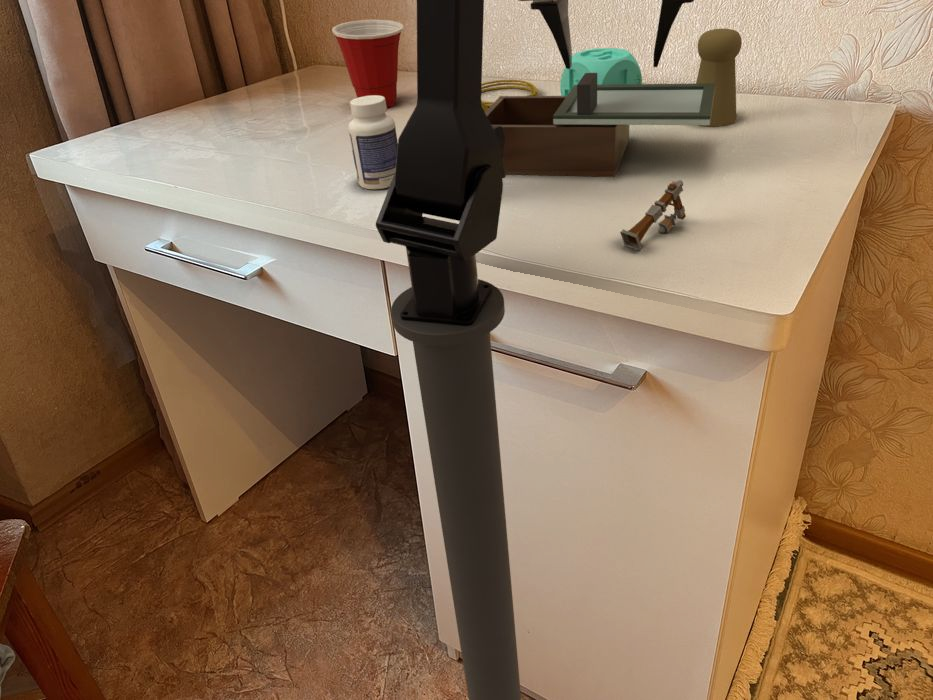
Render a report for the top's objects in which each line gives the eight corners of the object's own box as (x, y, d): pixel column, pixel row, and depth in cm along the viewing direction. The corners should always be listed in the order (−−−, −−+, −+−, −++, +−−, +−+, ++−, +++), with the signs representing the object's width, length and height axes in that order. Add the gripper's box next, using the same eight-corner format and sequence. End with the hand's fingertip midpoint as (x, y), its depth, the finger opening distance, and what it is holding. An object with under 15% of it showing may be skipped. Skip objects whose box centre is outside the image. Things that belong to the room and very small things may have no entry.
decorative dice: (598, 127, 97) (598, 64, 93) (559, 115, 103) (558, 56, 99) (641, 113, 101) (644, 52, 96) (602, 103, 107) (603, 45, 102)
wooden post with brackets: (696, 212, 70) (688, 176, 67) (646, 269, 69) (634, 235, 65) (681, 207, 72) (672, 172, 68) (631, 263, 70) (619, 230, 67)
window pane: (709, 125, 76) (713, 84, 74) (553, 124, 81) (552, 85, 79) (714, 91, 86) (717, 54, 84) (574, 93, 91) (574, 57, 89)
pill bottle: (412, 179, 87) (400, 96, 82) (377, 194, 84) (363, 109, 79) (384, 171, 91) (371, 91, 85) (349, 184, 88) (334, 102, 83)
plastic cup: (386, 117, 110) (373, 33, 104) (332, 112, 116) (316, 31, 109) (426, 97, 118) (417, 17, 111) (373, 93, 123) (361, 16, 116)
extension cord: (435, 112, 110) (434, 99, 109) (490, 85, 121) (489, 72, 120) (505, 119, 104) (504, 105, 103) (555, 89, 115) (555, 76, 114)
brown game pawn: (700, 110, 100) (707, 23, 93) (744, 115, 96) (754, 25, 90) (680, 123, 96) (686, 33, 90) (725, 128, 92) (734, 36, 86)
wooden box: (614, 177, 82) (615, 127, 79) (474, 173, 87) (470, 126, 84) (628, 140, 92) (630, 95, 89) (502, 138, 97) (499, 96, 94)
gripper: (720, -118, 73) (706, 47, 81) (538, -102, 78) (542, 51, 87) (717, -112, 64) (701, 73, 73) (511, -94, 70) (519, 76, 78)
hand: (611, 67), depth 78 cm, fingers open, 9 cm apart
